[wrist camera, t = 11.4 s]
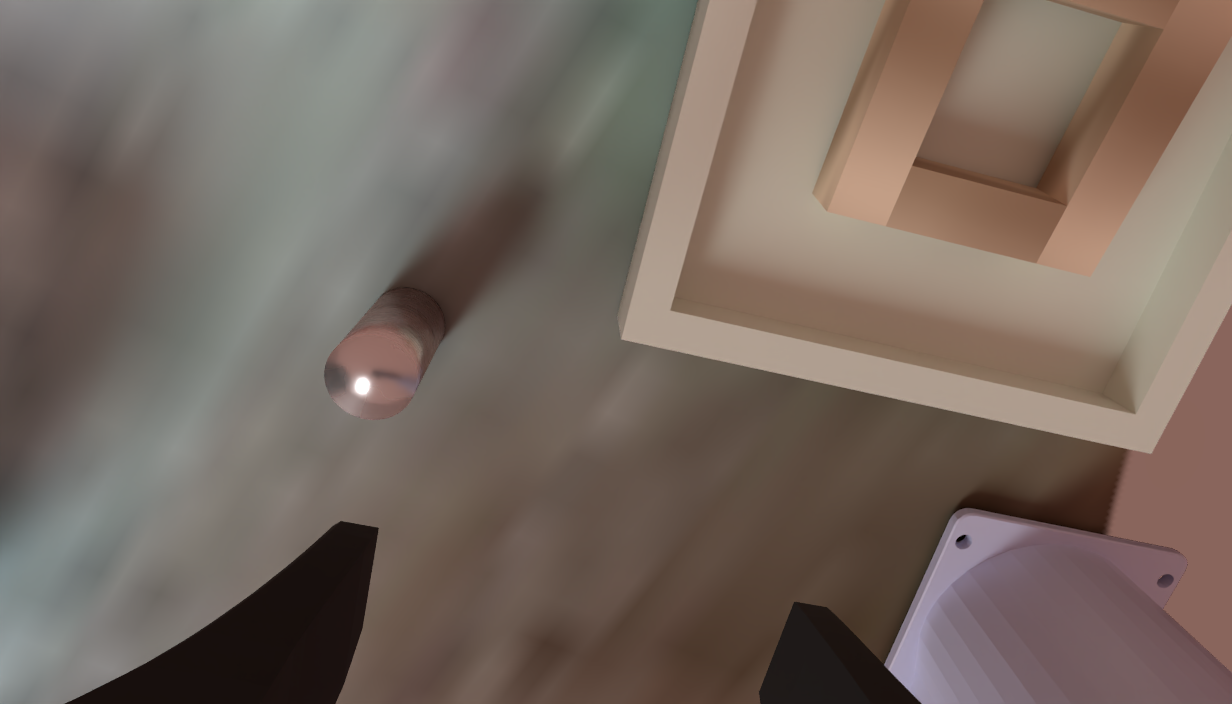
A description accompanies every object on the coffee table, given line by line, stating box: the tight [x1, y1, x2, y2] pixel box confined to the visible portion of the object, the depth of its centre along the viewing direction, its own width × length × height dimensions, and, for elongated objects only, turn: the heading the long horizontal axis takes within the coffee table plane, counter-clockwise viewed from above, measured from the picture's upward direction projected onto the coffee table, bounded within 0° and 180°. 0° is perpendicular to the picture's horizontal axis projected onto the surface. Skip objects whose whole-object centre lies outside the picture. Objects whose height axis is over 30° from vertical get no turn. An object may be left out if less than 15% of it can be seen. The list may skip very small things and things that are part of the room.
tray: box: [617, 0, 1232, 454], centre depth 18 cm, size 15×15×2 cm
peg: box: [324, 288, 445, 420], centre depth 19 cm, size 2×2×4 cm
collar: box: [812, 0, 1232, 277], centre depth 16 cm, size 10×7×4 cm
